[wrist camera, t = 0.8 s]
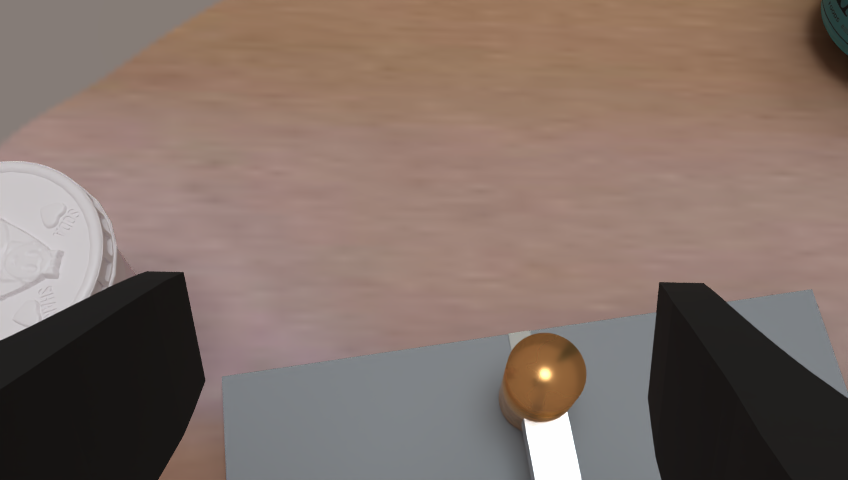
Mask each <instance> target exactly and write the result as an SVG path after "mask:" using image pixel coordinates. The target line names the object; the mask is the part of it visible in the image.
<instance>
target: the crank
mask: <svg viewBox="0 0 848 480" xmlns="http://www.w3.org/2000/svg"><path fill="white" fill-rule="evenodd" d="M585 383H586V365H585V362H584V359H583V357H582V355H581V353H580V352H579V350H578V349H577V348H576V347H575V346H574V345H573V344H572V343H571V342H570V341H569V340H567V339H565V338H564V337H562V336H559V335H556V334H552V333H537V334H533V335H530V336H527V337H525V338H524V339H522V340H521V341H520V342H518V343H517V344H516V345H515V347H514V348H513V349H512V351H511V353H510V355H509V357H508V360H507V364H506V368H505V371H504V375H503V379H502V383H501V386H500V390H499V405H500V409H501V411H502V413H503V415H504V417H505V418H506V420H507V421H508V422H509V423H510V424H511V425H512V426H514V427H515V428H517V429H519V430H521V431H522V432H523V438H524V443H525V448H526V454H527V459H528V465H529V470H530V475H531V480H581V476H580V471H579V466H578V461H577V457H576V452H575V447H574V442H573V437H572V433H571V428H570V423H569V418H568V414H567V411H568V410H569V409H570V408H571V406H572V405H573V404H574V403H575V401H576V400H577V399H578V397H579V396H580V395H581V393H582V391H583V389H584V386H585Z"/></svg>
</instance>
